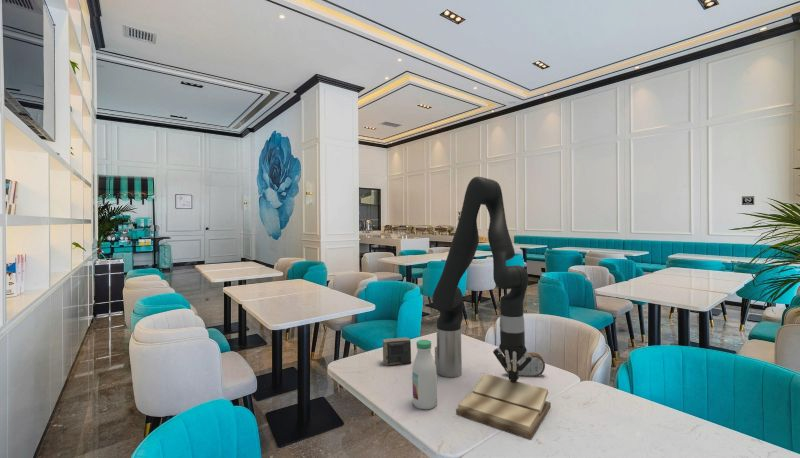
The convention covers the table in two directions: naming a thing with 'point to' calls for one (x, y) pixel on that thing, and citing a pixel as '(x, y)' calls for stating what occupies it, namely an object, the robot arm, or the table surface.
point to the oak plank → (511, 392)
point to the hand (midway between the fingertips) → (513, 381)
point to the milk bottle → (424, 377)
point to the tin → (531, 366)
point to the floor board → (502, 414)
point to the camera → (396, 351)
